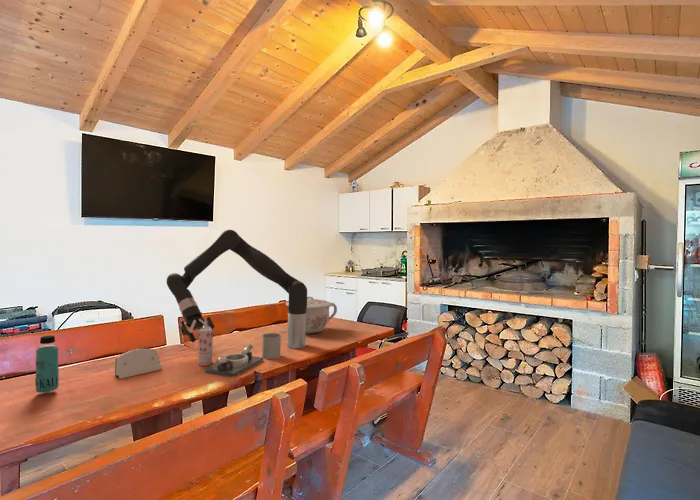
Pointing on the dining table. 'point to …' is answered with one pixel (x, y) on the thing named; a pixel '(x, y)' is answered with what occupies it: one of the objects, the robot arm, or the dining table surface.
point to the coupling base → (234, 369)
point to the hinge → (137, 362)
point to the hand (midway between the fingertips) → (203, 339)
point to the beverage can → (205, 346)
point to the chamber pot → (317, 314)
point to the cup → (271, 346)
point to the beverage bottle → (46, 366)
